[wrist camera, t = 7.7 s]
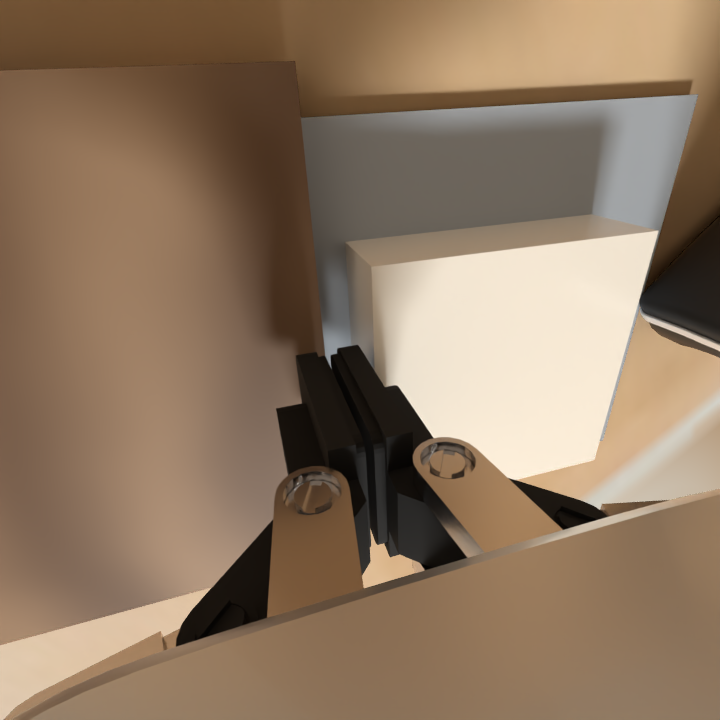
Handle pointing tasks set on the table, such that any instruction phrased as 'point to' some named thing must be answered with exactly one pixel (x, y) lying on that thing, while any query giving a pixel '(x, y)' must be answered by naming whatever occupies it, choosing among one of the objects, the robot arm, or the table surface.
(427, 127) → the mat
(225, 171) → the board
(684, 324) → the battery charger
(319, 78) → the table surface
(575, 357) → the coaster
